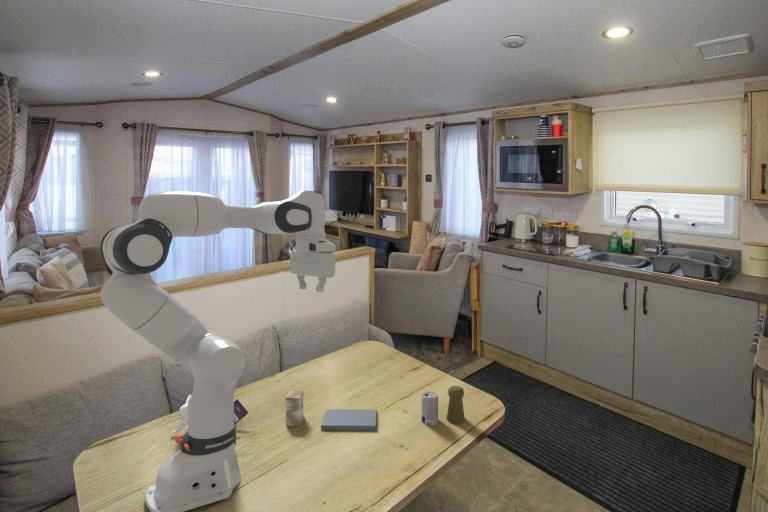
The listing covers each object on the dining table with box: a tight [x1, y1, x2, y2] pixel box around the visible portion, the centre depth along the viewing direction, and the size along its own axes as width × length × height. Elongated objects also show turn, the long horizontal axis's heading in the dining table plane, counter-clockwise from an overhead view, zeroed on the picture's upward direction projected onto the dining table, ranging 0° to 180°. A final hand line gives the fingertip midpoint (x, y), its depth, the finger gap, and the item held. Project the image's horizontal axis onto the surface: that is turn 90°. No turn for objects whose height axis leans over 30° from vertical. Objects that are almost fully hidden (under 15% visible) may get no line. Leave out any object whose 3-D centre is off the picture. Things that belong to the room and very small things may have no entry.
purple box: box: [234, 399, 249, 425], centre depth 135 cm, size 7×5×9 cm
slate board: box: [320, 408, 378, 431], centre depth 138 cm, size 17×12×2 cm
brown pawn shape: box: [446, 385, 466, 425], centre depth 139 cm, size 6×6×11 cm
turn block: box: [284, 390, 305, 427], centre depth 138 cm, size 4×6×9 cm
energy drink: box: [421, 391, 439, 426], centre depth 139 cm, size 5×5×12 cm
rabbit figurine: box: [170, 394, 192, 434], centre depth 134 cm, size 12×8×10 cm, turn 95°
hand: (311, 290), depth 129 cm, fingers open, 8 cm apart
